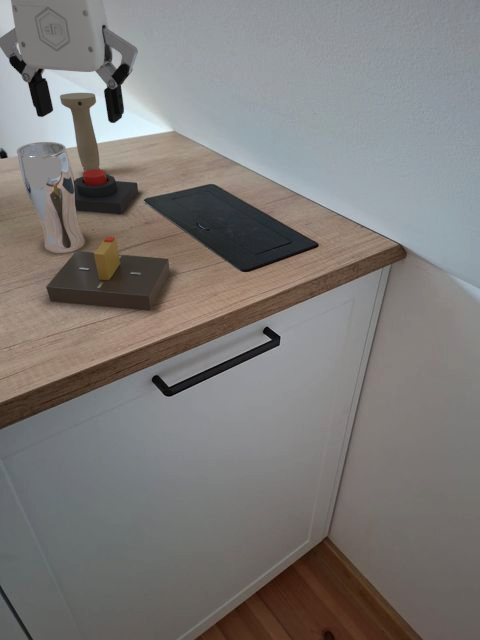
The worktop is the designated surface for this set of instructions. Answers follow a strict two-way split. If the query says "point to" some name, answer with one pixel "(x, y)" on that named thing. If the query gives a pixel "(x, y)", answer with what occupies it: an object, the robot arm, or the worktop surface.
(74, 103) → the handle
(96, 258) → the thumb turn
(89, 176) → the button
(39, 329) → the worktop surface
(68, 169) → the beer glass
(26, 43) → the robot arm
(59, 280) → the plate
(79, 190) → the alarm box
